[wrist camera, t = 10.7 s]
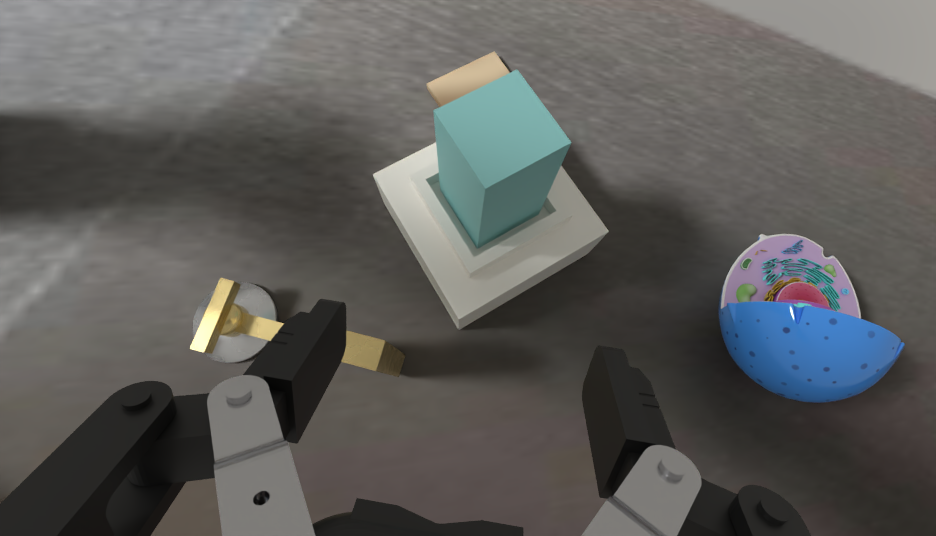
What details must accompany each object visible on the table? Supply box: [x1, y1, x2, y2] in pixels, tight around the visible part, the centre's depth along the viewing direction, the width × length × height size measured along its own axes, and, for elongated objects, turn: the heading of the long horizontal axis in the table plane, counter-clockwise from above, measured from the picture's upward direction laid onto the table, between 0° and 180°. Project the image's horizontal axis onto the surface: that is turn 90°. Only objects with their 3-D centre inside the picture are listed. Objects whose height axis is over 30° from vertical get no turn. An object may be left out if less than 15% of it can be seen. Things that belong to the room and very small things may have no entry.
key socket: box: [193, 282, 278, 363], centre depth 32 cm, size 6×6×1 cm
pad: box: [427, 52, 510, 107], centre depth 38 cm, size 7×7×1 cm
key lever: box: [190, 278, 405, 377], centre depth 27 cm, size 14×5×9 cm, turn 76°
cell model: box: [718, 234, 905, 403], centre depth 29 cm, size 10×12×10 cm
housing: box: [373, 143, 609, 330], centre depth 32 cm, size 12×12×6 cm
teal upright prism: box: [433, 70, 571, 249], centre depth 26 cm, size 5×5×9 cm
